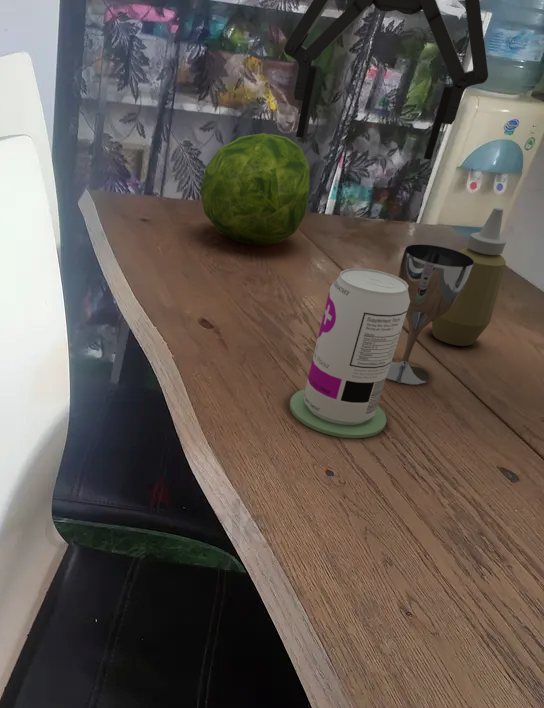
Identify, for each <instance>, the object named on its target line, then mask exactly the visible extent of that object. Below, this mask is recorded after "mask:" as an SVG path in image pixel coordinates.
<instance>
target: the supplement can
mask: <svg viewBox="0 0 544 708" xmlns="http://www.w3.org/2000/svg"><path fill="white" fill-rule="evenodd" d="M409 304H410V298H409V293H408V284H407V283H406V282H405V281H404V280H402V279H401V278H399V277H398V276H396V275H394V274H391V273H390V272H385V271H381V270H377V269H372V268H363V267H362V268H361V267H359V268H358V267H355V268H346V269H343V270H341V272H340V274H339V275H338V277H337V278H336V279H335V280H334V281H333V283H332V284H331V285H330V287H329V290H328V295H327V298H326V303H325V307H324V311H323V315H322V319H321V323H320V327H319V330H318V336H317V339H316V344H315V348H314V352H313V355H312V360H311V365H310V369H309V373H308V377H307V381H306V385H305V388H304V389H305V393H304V401H305V404H306V405H307V406H308V408H309V410H310V411H311V412H312V413H313V414H315V415H316V416H318V417H320V418H321V419H324V420H326V421H329V422H332V423H337V424H342V425H355V424H360V423H363V422H365V421H366V420H369V419H370V418H372V417H373V416H374V415H375V412H376V409H377V406H379V402H380V399H381V397H382V393H383V389H384V386H385V383H386V380H387V378H386V377H387V374H388V371H389V368H390V364H391V361H392V359H394V354H395V351H396V348H397V346H398V341H399V339H400V335H401V333H402V329H403V326H404V322H405V320H406V318H407V317H406V313H407V310H408V307H409Z"/></svg>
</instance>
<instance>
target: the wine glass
mask: <svg viewBox="0 0 544 708" xmlns="http://www.w3.org/2000/svg"><path fill="white" fill-rule="evenodd" d="M458 251H459V250H455V249H452V248H447V247H444V246H439V245H432V244H410V245H408V246H406V247H405V248H404V252H403V255H402V258H401V261H400V266H399V270H398V276H397V277H399V278H401V279H402V280H404V281H405V282H406V283H407V284H408V293H409V298H410V304H409V307H408V310H407V313H406V317H405V318H406V320H407V323H408V335H407V341H406V344H405V345H406V346H405V348H404V352H403V355H402V358H401V359H395V358H392V361H391V364H390V368H389V371H388V374H387V377H386V380H389V381H393V382H395V383H399V384H404V385H421V384H422V385H423V384H425V383H428V381H429V380H430V374H429V373H428V371H426V369H424V368H423V367H421V366H419V365H417V364H415V363H412V362H410V361H409V360H410V357H411V353H412V350H413V348H414V346H415V343H416V341H417V339H418V337H419V335H420V333H422V331H423V329H424V328H425V327H427V326H428V325H429V324H431V323H432V321H433V320H435V319H437V318H438V317H440V316H441V315H443V314H445V313H446V312H447V311H448V310H450V309H451V308H452V306H453V305H454V304H455V303H456V301H457V299H458V298H459V296H460V295H461V293H462V291H463V289H464V287H465V285H466V283H467V280H468V278H469V275H470V272H471V270H472V267H473V263H474V261H473V260H472V259H471V258H470V257H469V256H467V255H465V254H463V253H461V252H458Z"/></svg>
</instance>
